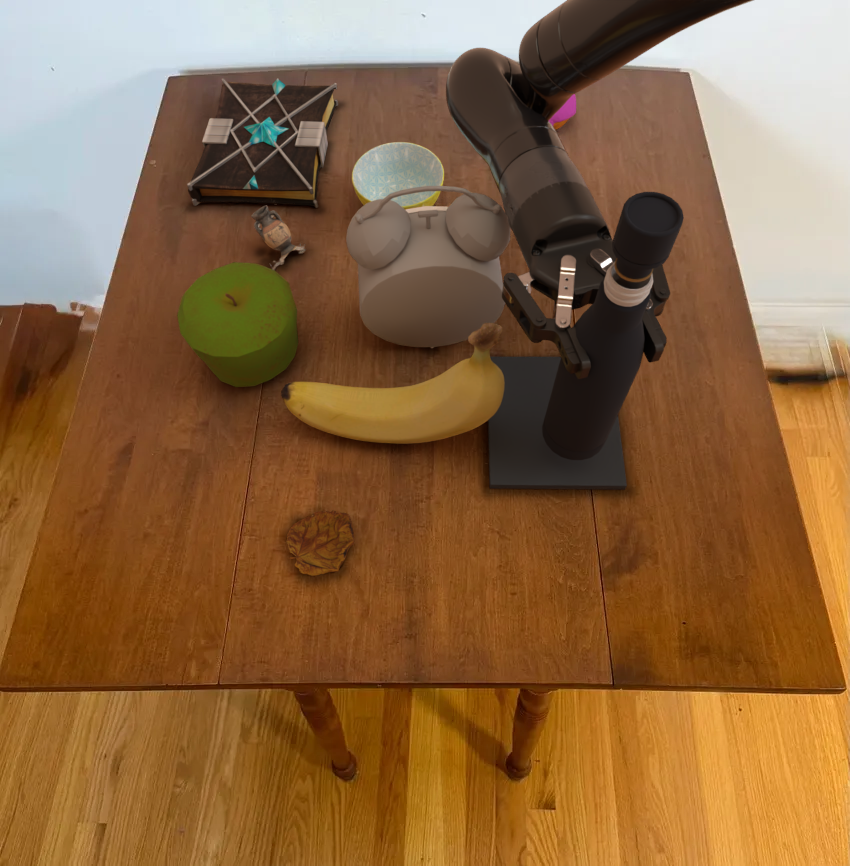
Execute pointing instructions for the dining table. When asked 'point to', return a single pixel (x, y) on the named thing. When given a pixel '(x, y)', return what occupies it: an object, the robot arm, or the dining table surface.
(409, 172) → the bowl
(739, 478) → the dining table surface
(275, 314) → the apple
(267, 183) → the book
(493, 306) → the alarm clock
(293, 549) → the leaf
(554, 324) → the robot arm
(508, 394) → the mat
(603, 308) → the insulated water bottle
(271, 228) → the vase
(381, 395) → the banana
